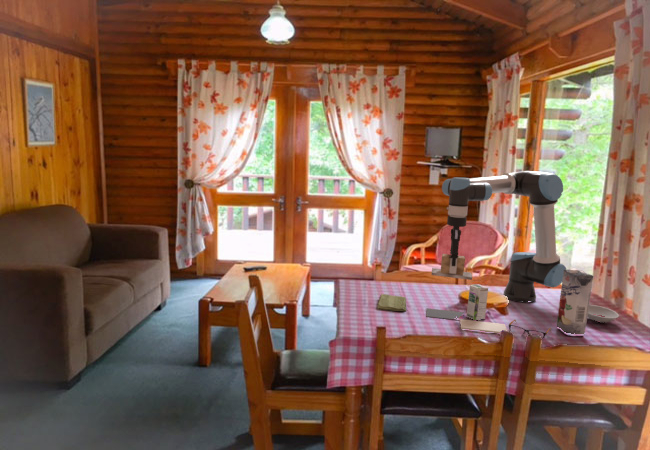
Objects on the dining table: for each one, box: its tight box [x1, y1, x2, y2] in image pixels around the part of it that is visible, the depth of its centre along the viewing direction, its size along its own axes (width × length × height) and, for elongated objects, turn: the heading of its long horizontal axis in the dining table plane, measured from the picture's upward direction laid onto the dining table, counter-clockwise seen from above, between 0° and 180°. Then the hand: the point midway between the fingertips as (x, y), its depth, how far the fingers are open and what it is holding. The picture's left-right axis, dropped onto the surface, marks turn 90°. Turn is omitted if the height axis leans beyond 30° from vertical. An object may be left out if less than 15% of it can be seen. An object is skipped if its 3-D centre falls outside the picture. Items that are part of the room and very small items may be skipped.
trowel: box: [431, 253, 473, 281], centre depth 211 cm, size 16×8×8 cm, turn 78°
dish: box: [587, 304, 620, 323], centre depth 225 cm, size 18×14×5 cm
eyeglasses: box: [508, 319, 552, 339], centre depth 208 cm, size 14×14×4 cm
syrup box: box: [466, 283, 489, 321], centre depth 221 cm, size 6×6×14 cm
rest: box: [459, 318, 508, 333], centre depth 210 cm, size 18×10×1 cm, turn 78°
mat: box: [425, 308, 464, 320], centre depth 225 cm, size 16×11×1 cm
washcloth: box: [376, 293, 407, 313], centre depth 234 cm, size 13×18×3 cm
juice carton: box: [556, 267, 594, 335], centre depth 208 cm, size 9×10×27 cm
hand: (452, 271), depth 211 cm, fingers closed on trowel, 4 cm apart
